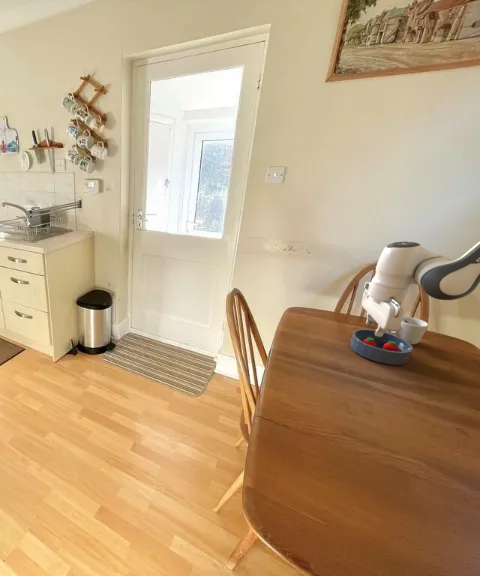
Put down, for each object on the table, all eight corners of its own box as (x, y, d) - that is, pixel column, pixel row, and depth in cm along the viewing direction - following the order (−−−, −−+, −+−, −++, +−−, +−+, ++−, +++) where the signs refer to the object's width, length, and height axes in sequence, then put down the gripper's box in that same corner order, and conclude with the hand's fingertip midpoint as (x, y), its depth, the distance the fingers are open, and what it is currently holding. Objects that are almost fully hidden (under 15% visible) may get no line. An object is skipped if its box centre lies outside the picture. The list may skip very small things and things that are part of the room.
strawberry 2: (392, 351, 106) (397, 340, 104) (397, 357, 103) (402, 345, 101) (379, 349, 107) (383, 338, 106) (383, 355, 104) (388, 343, 103)
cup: (389, 344, 111) (397, 324, 108) (376, 333, 118) (383, 314, 115) (426, 347, 109) (435, 327, 106) (410, 336, 116) (418, 317, 113)
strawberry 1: (366, 346, 109) (370, 335, 108) (376, 352, 106) (380, 341, 104) (357, 347, 109) (361, 336, 107) (366, 352, 105) (371, 341, 104)
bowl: (395, 345, 110) (400, 333, 108) (417, 370, 97) (423, 356, 95) (343, 338, 116) (347, 326, 114) (357, 360, 102) (361, 347, 101)
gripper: (415, 306, 89) (399, 347, 94) (386, 283, 107) (373, 319, 112) (388, 303, 92) (373, 344, 97) (363, 281, 109) (352, 316, 114)
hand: (373, 330), depth 104 cm, fingers open, 6 cm apart
